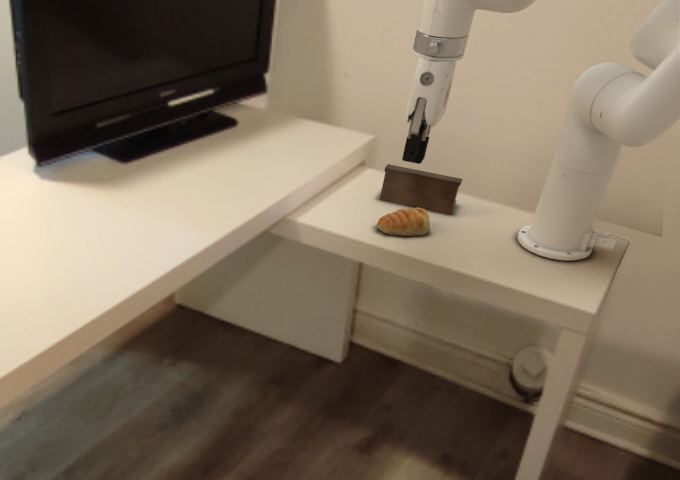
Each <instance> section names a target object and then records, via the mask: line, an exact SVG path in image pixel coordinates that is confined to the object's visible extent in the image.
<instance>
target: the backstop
mask: <svg viewBox="0 0 680 480" xmlns="http://www.w3.org/2000/svg"><path fill="white" fill-rule="evenodd" d="M462 182H463V178H459V177H454V176H450V175H445V174H441V173H440V174H439V173H435V172H429V171H424V170H420V169H415V168H410V167H409V168H408V167H405V166H399V165H394V164H390V163H387V164H386V166H385V167H384V177H383V182H382V186H381V191H380V196H379V200H381V201H386V202H390V203H394V204H399V205H404V206H408V207H412V208H417V207H419V208H421V209H425V210H426V211H431V212H435V213H442V214H445V215H452V213H453V211H454V209H455V207H456V204H457V196H458V193H459V189H460V187H461V185H462Z"/></svg>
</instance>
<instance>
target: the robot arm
mask: <svg viewBox="0 0 680 480" xmlns="http://www.w3.org/2000/svg"><path fill="white" fill-rule="evenodd" d="M422 1H423V2H422V6H421V10H420V15H419V21H418V25H417V28H416V29H417V30H416V33H415V37H414V41H413V42H414V43H413V47H412V54H413V55H414V56H415V57H417V58H418V59H417V61H416V66H415V70H414V74H413V78H412V82H411V87H410V90H409V96H408V101H407V106H406V111H405V116H404V121H405V122H406V123H410V124H409V129H408V133H407V136H406V139H405V145H404V149H403V154H402V156H401V157H402V158H401V160H402V161H403V162H408V163H412V164H417V165H420V164H422V163H423V161H424V159H425V156H426V153H427V149H428V146H429V145H428V144H429V140H430V136H429V135H430V133H431V130H432V128H434V127H436V126H437V125H438V124H439V123H440V121H441V120H442V118H443V117H444V116H445V113H446V112H447V108H448V104H449V100H450V99H449V98H450V94H451V90H452V84H453V80H454V76H455V71H456V65H457V61H459V60H462V59H463V58H464V55H465V52H466V48H467V43H468V40H469V37H470V36H469V35H470V31H471V27H472V24H473V20H474V16H475V13H476V11H477V10H481V11H487V12H488V11H489V12H493V13H500V14H514V13H518V12H521V11H523V10H526V9H527V8H529V7H530V6H532V5H533V4H534V3H535V2H536V0H422ZM629 49H630V53H631V55H632V56H633V57H634V59H635V60H636V61H638V62H639V63H640V64H642V65H644V66H645V67H647V68H649V69H651V70H652V72H651V73H650V74H649V75H648V76H646V75H645V74H642V73H641V72H639V71H636V70H635V69H633V68H631V67H629V66H627V65H624V64H621V63H617V62H610V61H609V62H601V63H597V64H595V65H593V66H591V67H589V68H588V69H586V70H585V71H584V72H582V73H581V74H580V75H579V77H578V78H577V79H576V81H574V84H573V85H572V88H571V90H570V94H569V96H568V101H567V106H566V112H565V120H564V124H563V129H562V132H561V137H560V140H559V143H558V146H557V149H556V152H555V154H554V157H553V160H552V162H551V166H550V169H549V171H548V174H547V177H546V180H545V183H544V186H543V189H542V191H541V195H540V197H539V199H538V203H537V205H536V208H535V211H534V215H533V217H532V220H531V223H530V224H526V225H524V226H523V227H521V228H520V229H519V231H518V233H517V241H518V243H519V244H520V245H521V246H522V247H523V248H525V250H527V251H529V252H531V253H532V254H535V255H537V256H540V257H543V258H547V259H552V260H557V261H578V260H584V259H585V258H588V257H589V256H590V255H591V254H592V251H593V249H594V247H595V248H601V249H604V250H608V251H614V249H615V247H616V244H617V239H614V238H610V233H605V232H600V231H596V229H595V228H594V224H595V222H594V221H595V219H596V217H597V214H598V211H599V209H600V206H601V204H602V201H603V198H604V196H605V193H606V191H607V188H608V186H609V183H610V181H611V180H612V176H613V174H614V171H615V169H616V167H617V164H618V162H619V159H620V155H621V152H622V148H623V147H626V148H627V147H628V148H640V147H644V146H646V145H648V144H650V143H653V142H654V141H656V140H657V139H659V138H660V137H662V136H663V135H664V134H665V133H666V132H668V131H669V130H670V129H671V128H672V127H673V126H674V125H676V123H678V121H679V120H680V0H661V1H660V2H659V4H658V5H656V7H655V8H654V9H652V11H651V12H650V13H649V14H648V15H647V16H646V17H645V19H644V20H643V21H642V22H641V23H640V24H639V25H638V27H636V29H635V30H634V32H633V33H632V36H631V38H630V42H629Z"/></svg>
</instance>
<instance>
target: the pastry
mask: <svg viewBox="0 0 680 480" xmlns="http://www.w3.org/2000/svg"><path fill="white" fill-rule="evenodd" d="M376 227H377V229H379V230H380V231H381V232H383V233H385V234H387V235H391V236H400V237H402V236H403V237H404V236H407V237H415V236H424V235H426V234H427V233H429V232H430V231H431V221H430V215H429V213H428V210H426V209H422V208H419V207H415V208H399V209H397V210H395V211H393V212H389V213H387V214H385V215H383V216H381V217H379V218H378V220H377V223H376Z"/></svg>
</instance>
